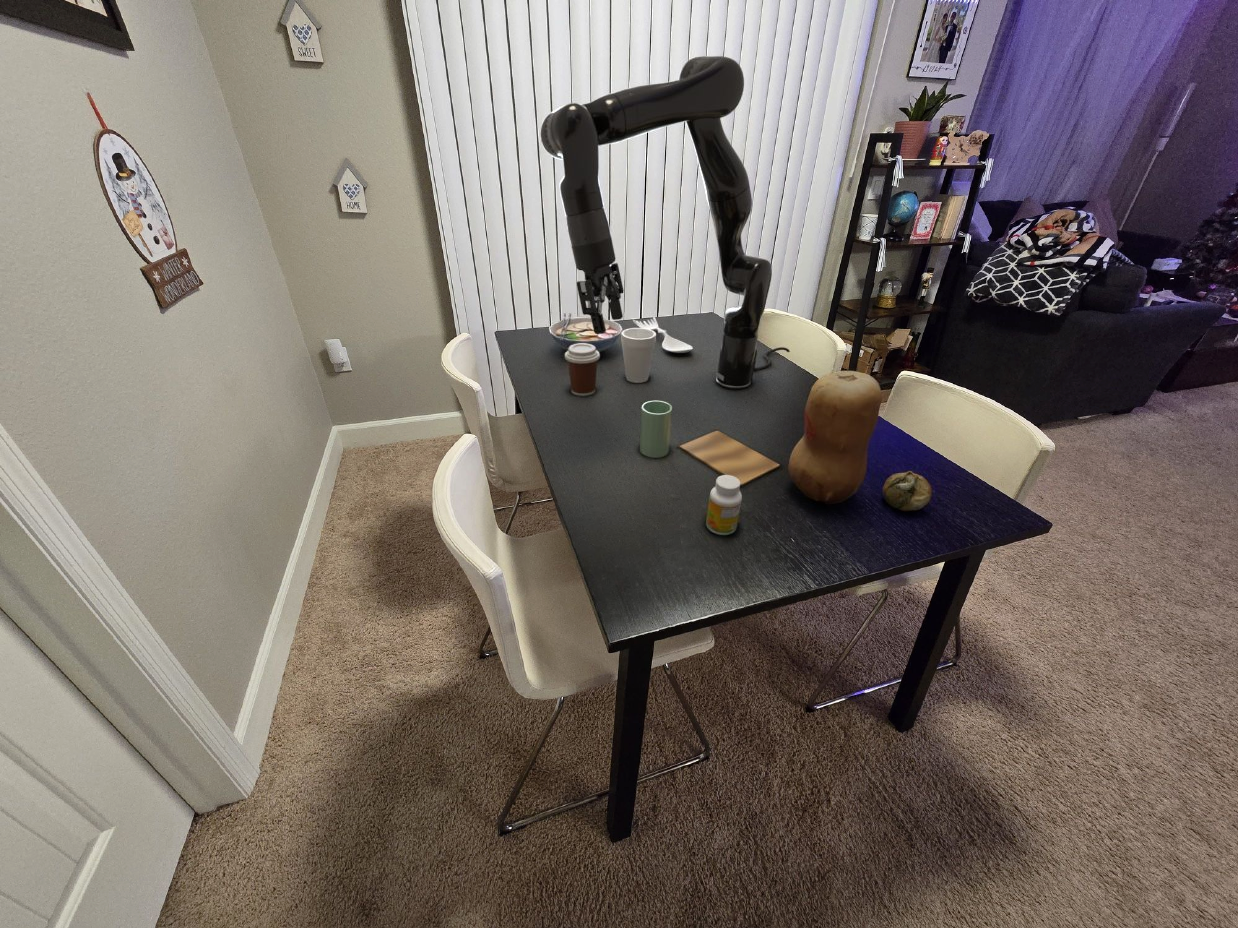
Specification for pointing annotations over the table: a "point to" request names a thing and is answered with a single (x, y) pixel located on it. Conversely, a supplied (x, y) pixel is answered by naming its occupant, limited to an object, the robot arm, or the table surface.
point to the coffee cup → (582, 368)
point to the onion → (907, 491)
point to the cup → (655, 428)
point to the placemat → (729, 457)
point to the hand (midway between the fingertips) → (609, 326)
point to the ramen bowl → (584, 332)
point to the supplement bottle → (724, 505)
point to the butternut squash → (836, 436)
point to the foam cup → (637, 353)
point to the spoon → (669, 342)
